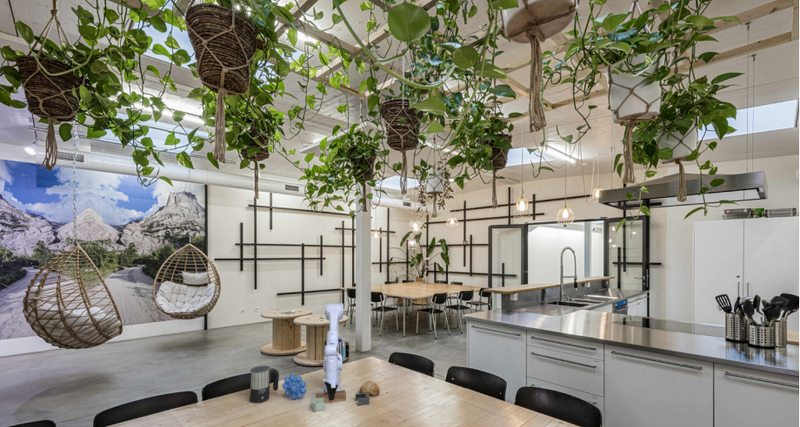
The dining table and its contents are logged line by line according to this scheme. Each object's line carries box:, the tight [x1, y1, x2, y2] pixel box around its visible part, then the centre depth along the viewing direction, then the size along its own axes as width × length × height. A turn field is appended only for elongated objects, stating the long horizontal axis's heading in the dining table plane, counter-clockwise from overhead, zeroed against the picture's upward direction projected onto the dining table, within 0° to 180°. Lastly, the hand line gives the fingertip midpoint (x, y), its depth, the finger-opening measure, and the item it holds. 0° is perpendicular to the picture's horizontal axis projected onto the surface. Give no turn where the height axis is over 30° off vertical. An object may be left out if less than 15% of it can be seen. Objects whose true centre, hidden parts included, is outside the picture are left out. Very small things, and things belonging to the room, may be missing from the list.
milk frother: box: [249, 365, 280, 404], centre depth 187 cm, size 14×16×15 cm
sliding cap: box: [311, 397, 326, 412], centre depth 173 cm, size 7×5×3 cm
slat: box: [315, 389, 347, 405], centre depth 181 cm, size 4×14×4 cm, turn 109°
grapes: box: [282, 373, 307, 400], centre depth 182 cm, size 12×7×12 cm, turn 95°
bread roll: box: [359, 380, 381, 399], centre depth 190 cm, size 10×10×8 cm
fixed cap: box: [354, 392, 370, 407], centre depth 179 cm, size 7×5×3 cm
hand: (330, 398), depth 181 cm, fingers closed on slat, 3 cm apart
